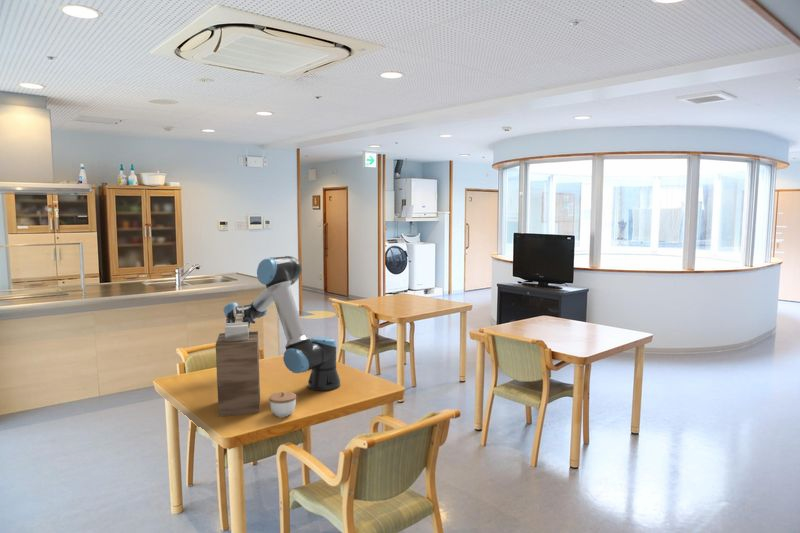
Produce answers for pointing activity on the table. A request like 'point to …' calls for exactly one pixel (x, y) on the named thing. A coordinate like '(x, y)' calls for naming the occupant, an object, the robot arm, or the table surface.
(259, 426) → the table surface
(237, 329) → the pale grey block
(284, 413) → the lidded jar
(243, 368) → the stand
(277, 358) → the table surface
